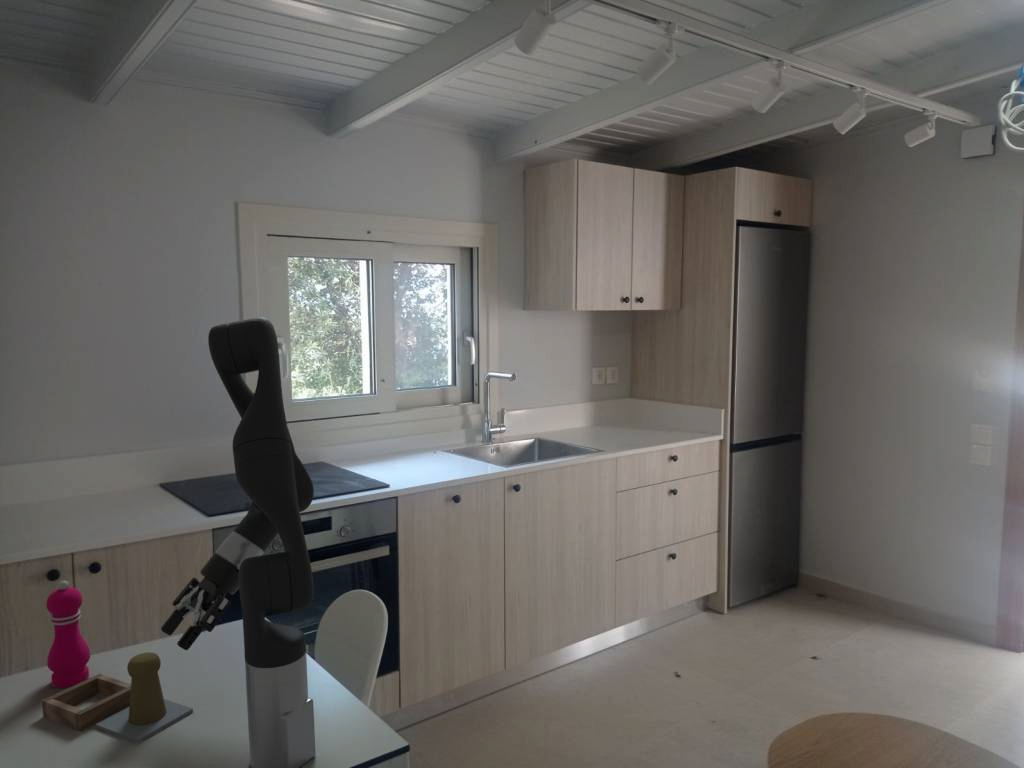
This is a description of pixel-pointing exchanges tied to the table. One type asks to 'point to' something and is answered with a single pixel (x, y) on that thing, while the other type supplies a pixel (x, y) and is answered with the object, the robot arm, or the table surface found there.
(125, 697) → the walnut collar
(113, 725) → the rubber mat
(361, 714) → the table surface
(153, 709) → the cork
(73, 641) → the pepper mill
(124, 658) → the table surface
